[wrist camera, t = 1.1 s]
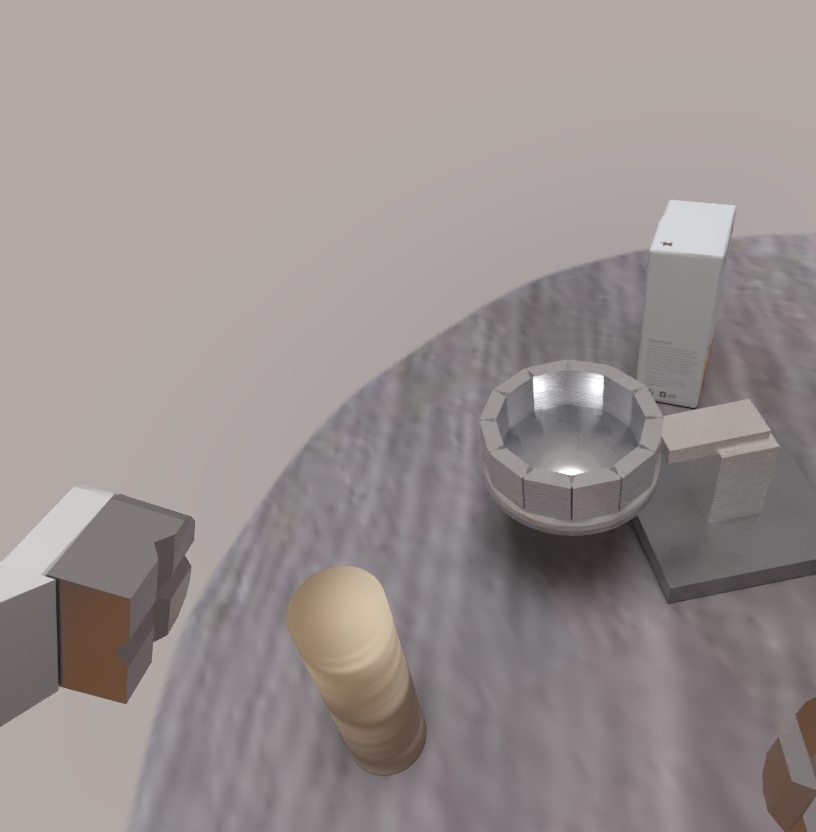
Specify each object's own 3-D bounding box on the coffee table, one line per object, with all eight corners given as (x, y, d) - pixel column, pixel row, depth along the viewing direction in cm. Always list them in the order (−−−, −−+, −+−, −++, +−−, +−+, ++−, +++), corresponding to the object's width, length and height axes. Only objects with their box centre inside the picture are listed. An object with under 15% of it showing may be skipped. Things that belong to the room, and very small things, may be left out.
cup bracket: (762, 437, 48) (797, 303, 41) (849, 567, 41) (911, 433, 34) (477, 494, 48) (461, 371, 41) (514, 634, 41) (502, 515, 34)
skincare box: (698, 411, 50) (724, 258, 42) (633, 399, 52) (645, 250, 44) (712, 353, 54) (738, 202, 46) (651, 344, 56) (666, 197, 47)
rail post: (420, 689, 40) (380, 557, 31) (432, 766, 37) (392, 644, 28) (345, 704, 40) (285, 576, 31) (351, 782, 37) (287, 665, 28)
